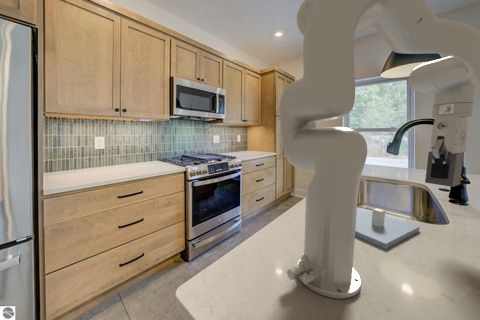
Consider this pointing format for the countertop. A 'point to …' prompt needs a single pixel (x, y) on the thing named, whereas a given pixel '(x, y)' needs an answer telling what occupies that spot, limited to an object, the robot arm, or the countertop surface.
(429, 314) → the countertop surface
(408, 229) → the post board
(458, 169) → the grey block
